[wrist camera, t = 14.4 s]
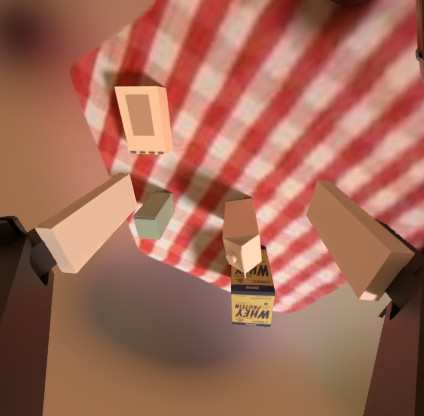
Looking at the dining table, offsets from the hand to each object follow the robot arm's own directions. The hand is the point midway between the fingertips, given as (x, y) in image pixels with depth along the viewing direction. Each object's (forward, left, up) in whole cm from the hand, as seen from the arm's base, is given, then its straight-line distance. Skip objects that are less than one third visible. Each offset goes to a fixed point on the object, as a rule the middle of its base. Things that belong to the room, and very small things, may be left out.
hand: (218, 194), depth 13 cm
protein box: (+40, +8, -31) cm, 51 cm away
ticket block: (-2, -17, -31) cm, 35 cm away
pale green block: (+18, -17, -31) cm, 40 cm away
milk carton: (+20, +4, -31) cm, 37 cm away
